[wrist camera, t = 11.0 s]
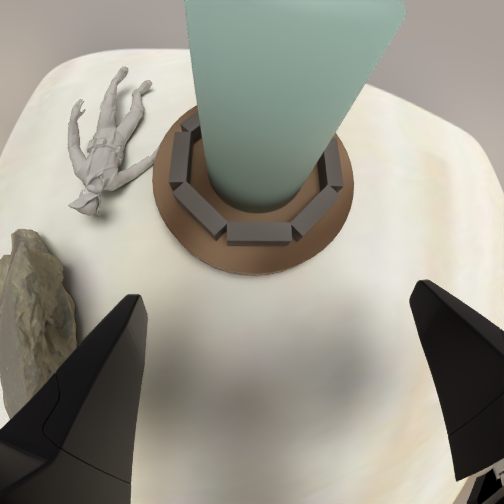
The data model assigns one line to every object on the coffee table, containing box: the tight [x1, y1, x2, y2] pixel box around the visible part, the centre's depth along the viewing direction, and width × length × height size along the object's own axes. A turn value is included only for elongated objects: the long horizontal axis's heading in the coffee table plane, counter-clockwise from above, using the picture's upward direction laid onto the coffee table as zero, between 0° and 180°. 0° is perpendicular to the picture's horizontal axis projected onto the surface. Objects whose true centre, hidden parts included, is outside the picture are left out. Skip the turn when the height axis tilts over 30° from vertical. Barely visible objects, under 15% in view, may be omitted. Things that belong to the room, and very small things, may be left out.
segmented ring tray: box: [152, 105, 354, 276], centre depth 17 cm, size 13×13×4 cm
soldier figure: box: [68, 67, 160, 217], centre depth 17 cm, size 8×5×12 cm
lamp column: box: [184, 0, 407, 213], centre depth 11 cm, size 6×6×13 cm
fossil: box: [0, 229, 77, 419], centre depth 12 cm, size 14×10×10 cm
